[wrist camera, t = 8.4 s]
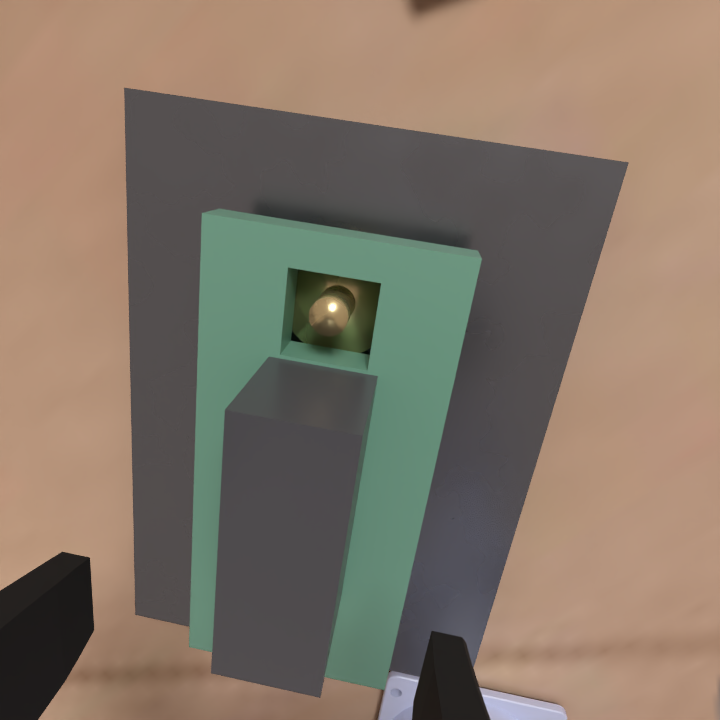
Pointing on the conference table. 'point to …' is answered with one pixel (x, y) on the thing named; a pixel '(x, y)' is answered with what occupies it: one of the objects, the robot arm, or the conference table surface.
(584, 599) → the conference table surface
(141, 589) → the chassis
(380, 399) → the board
